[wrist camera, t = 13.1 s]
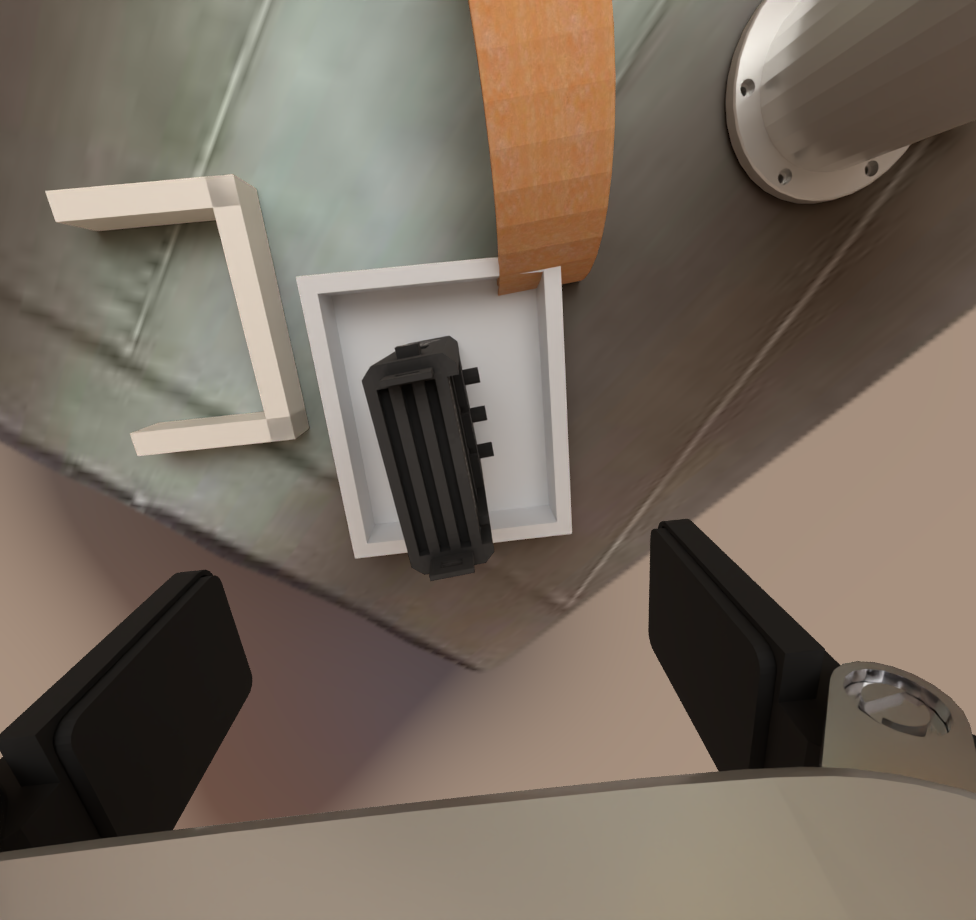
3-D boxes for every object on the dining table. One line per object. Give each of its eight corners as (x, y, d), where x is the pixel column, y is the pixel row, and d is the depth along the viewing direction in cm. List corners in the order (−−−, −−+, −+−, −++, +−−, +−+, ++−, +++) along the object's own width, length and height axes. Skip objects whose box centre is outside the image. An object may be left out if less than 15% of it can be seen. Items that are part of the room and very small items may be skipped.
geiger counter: (496, 472, 33) (524, 592, 19) (434, 484, 33) (416, 613, 19) (468, 324, 30) (476, 334, 16) (399, 337, 30) (346, 360, 16)
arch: (494, 297, 30) (508, 279, 21) (432, -86, 25) (413, -351, 15) (580, 281, 30) (635, 256, 21) (537, -104, 25) (583, -380, 15)
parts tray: (547, 258, 30) (560, 250, 26) (560, 510, 36) (572, 533, 32) (316, 281, 30) (295, 276, 26) (366, 531, 35) (355, 558, 31)
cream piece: (256, 188, 28) (233, 174, 25) (309, 428, 32) (295, 439, 30) (88, 203, 27) (45, 191, 25) (166, 443, 32) (137, 456, 29)
